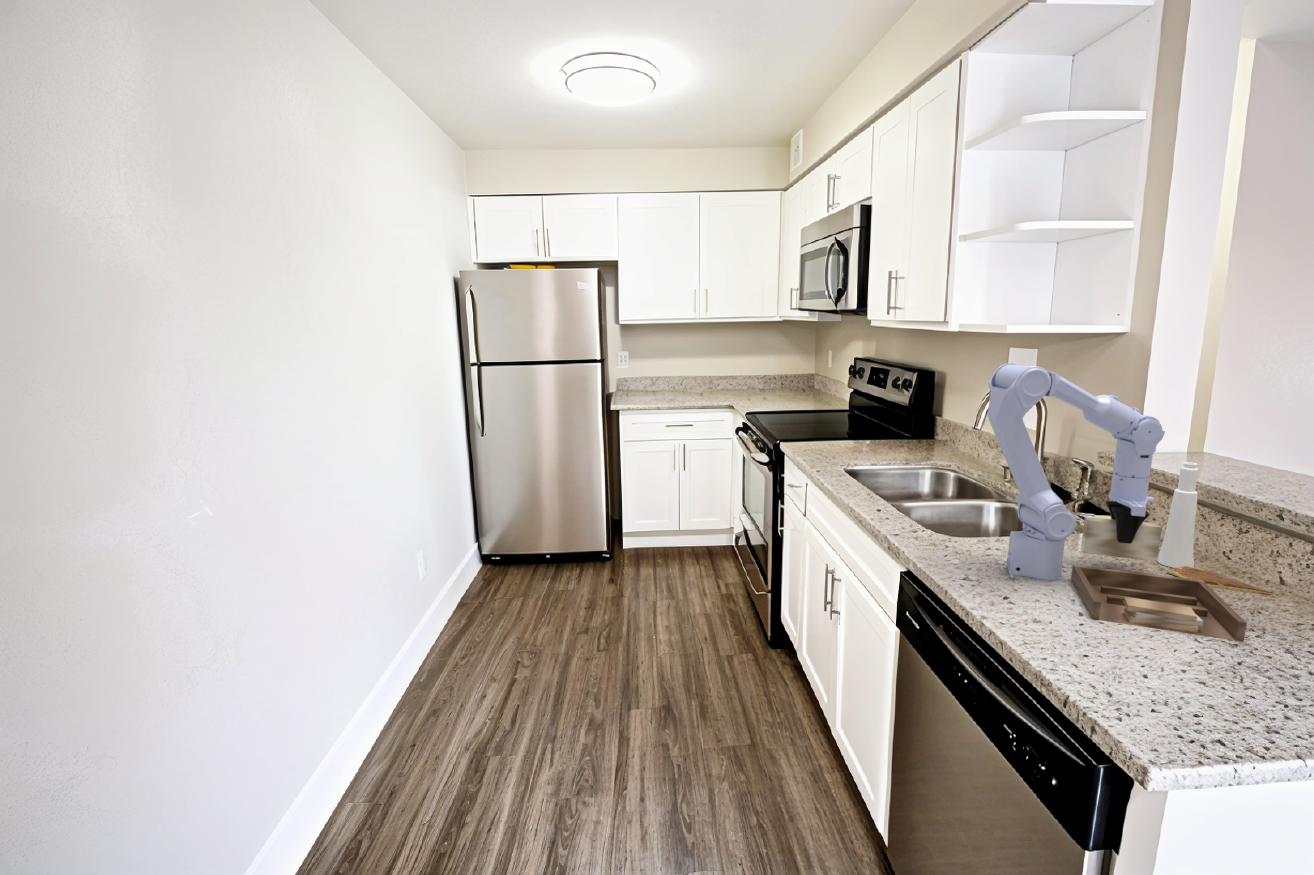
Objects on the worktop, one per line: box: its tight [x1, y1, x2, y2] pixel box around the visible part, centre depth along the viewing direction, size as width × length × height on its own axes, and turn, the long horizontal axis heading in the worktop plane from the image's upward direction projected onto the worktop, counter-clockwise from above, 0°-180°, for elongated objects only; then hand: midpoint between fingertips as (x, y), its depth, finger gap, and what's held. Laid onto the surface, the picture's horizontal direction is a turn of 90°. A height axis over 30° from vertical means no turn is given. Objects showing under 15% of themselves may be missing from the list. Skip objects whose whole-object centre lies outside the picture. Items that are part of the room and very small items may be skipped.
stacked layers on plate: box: [1094, 514, 1111, 519], centre depth 140 cm, size 10×9×6 cm
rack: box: [1070, 564, 1248, 642], centre depth 107 cm, size 20×17×4 cm
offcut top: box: [1123, 597, 1197, 622], centre depth 101 cm, size 9×4×1 cm, turn 61°
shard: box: [1166, 566, 1275, 596], centre depth 115 cm, size 13×9×2 cm
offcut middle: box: [1130, 611, 1203, 627], centre depth 101 cm, size 9×4×1 cm, turn 70°
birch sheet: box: [1080, 516, 1163, 562], centre depth 121 cm, size 12×2×7 cm, turn 66°
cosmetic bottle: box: [1156, 461, 1199, 568], centre depth 125 cm, size 6×6×22 cm
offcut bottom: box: [1124, 608, 1199, 633], centre depth 101 cm, size 9×4×1 cm, turn 66°
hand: (1122, 540), depth 121 cm, fingers closed on birch sheet, 2 cm apart
